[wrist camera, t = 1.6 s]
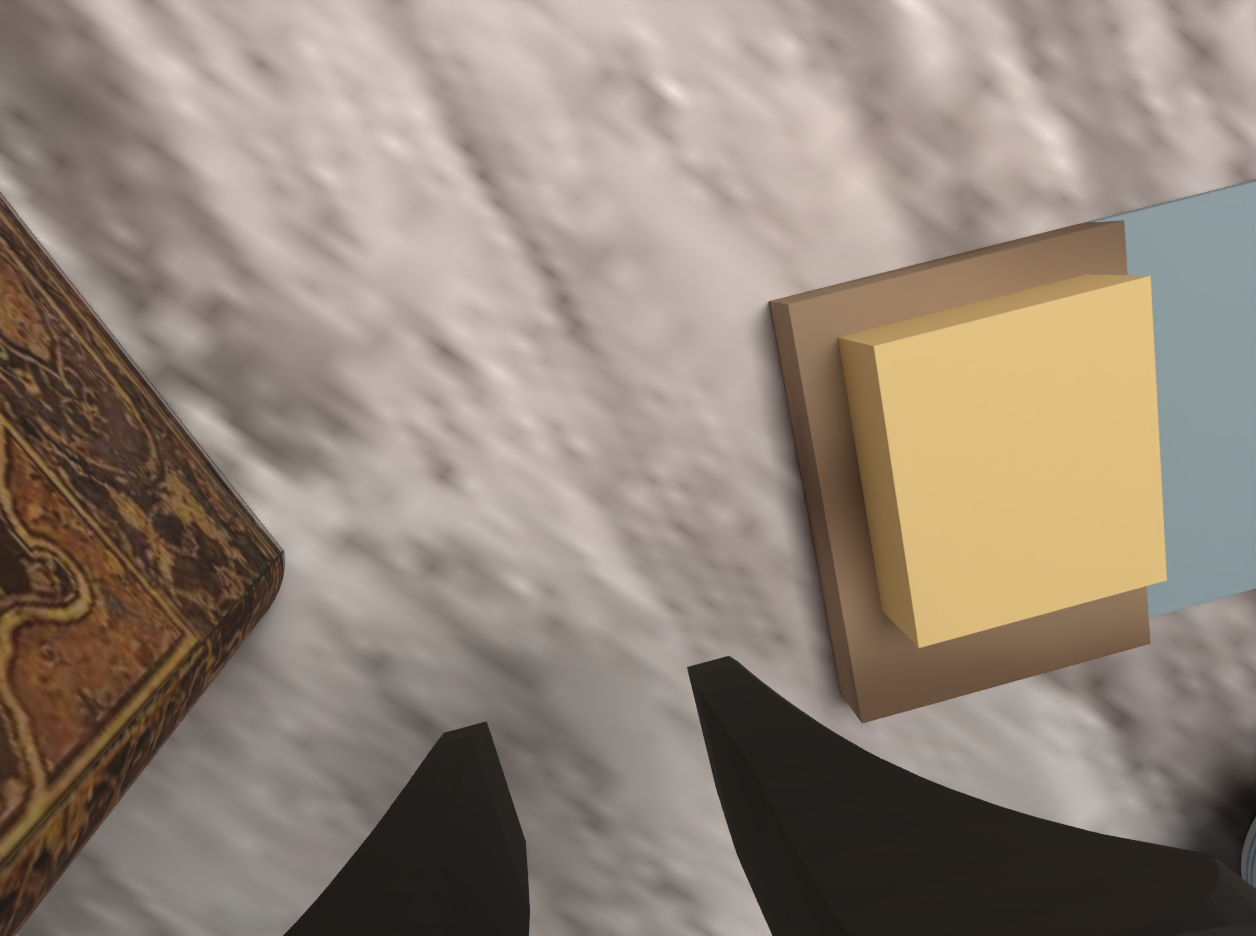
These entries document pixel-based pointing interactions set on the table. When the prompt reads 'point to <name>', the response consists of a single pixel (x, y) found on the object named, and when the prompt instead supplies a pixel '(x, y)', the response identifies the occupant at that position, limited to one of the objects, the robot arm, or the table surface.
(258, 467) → the table surface
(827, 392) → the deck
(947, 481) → the tile
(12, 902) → the book
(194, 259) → the table surface
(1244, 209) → the mat
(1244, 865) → the chinaware
